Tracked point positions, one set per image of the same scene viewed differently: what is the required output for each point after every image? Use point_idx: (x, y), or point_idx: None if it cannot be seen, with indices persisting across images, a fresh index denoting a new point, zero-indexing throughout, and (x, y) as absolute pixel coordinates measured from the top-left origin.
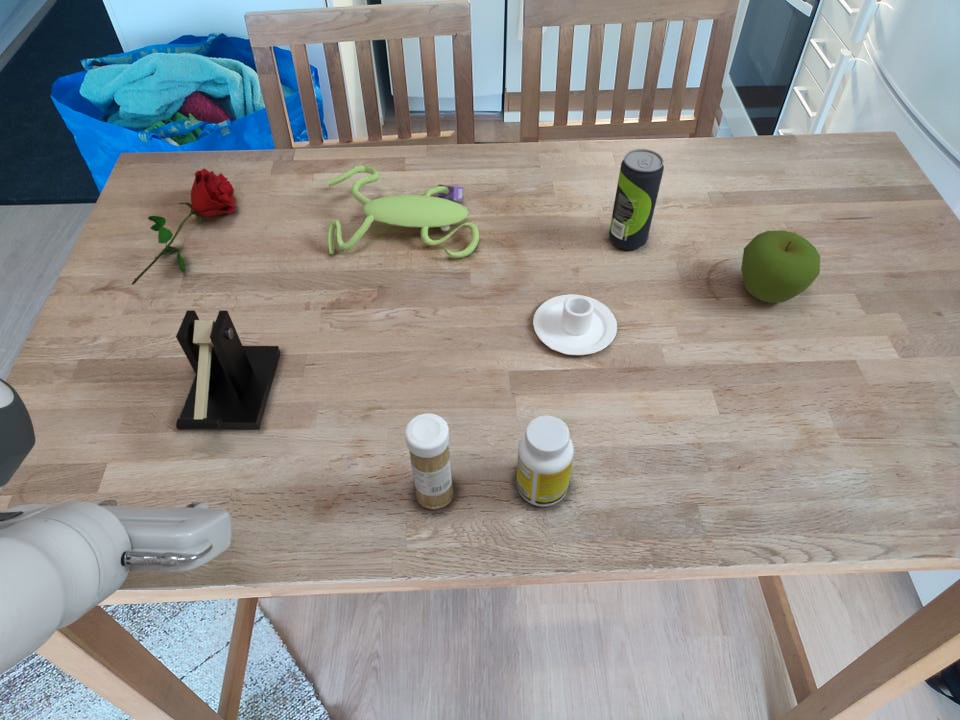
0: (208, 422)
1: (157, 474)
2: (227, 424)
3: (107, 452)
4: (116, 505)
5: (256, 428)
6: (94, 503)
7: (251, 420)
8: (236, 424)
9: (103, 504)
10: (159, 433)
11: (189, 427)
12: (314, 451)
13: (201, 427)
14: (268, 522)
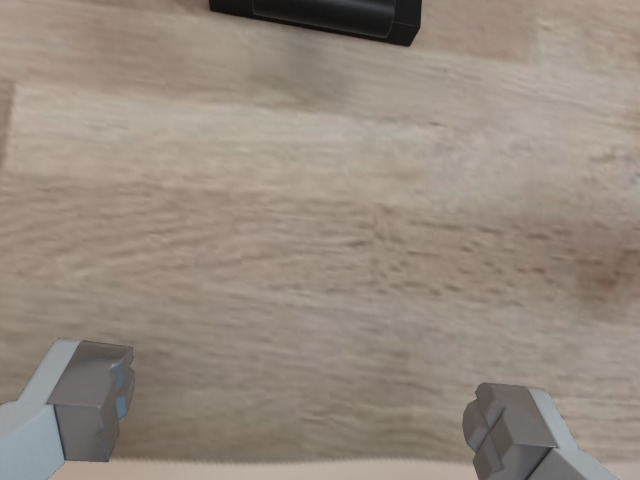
0: (363, 4)
1: (167, 137)
2: None
3: (8, 47)
4: (131, 360)
5: (405, 43)
6: (27, 400)
7: (407, 19)
8: None
9: (81, 407)
10: (150, 14)
11: (296, 11)
12: (549, 128)
13: (337, 18)
14: (480, 310)
